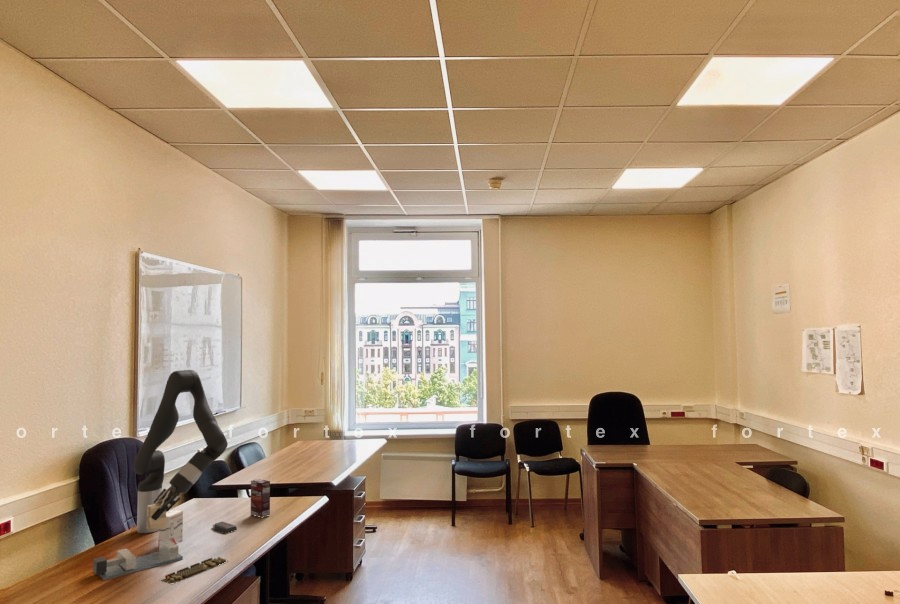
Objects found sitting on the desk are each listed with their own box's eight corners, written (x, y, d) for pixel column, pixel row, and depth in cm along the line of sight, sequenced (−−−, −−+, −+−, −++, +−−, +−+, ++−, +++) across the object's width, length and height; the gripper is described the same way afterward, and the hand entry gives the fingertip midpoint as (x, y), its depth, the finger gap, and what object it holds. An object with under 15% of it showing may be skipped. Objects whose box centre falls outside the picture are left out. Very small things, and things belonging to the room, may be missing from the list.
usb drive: (225, 534, 228) (225, 528, 228) (210, 529, 235) (210, 523, 236) (236, 531, 232) (236, 524, 232) (221, 526, 239) (222, 519, 240)
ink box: (168, 547, 213) (168, 516, 214) (157, 547, 214) (157, 516, 215) (183, 539, 222) (183, 510, 223) (172, 539, 223) (173, 509, 224)
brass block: (146, 528, 201) (147, 505, 201) (161, 524, 204) (161, 502, 205) (150, 531, 197) (151, 508, 198) (165, 527, 201) (166, 505, 201)
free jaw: (90, 568, 191) (91, 556, 191) (126, 559, 198) (126, 547, 199) (98, 577, 182) (98, 565, 183) (135, 568, 190) (135, 556, 190)
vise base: (95, 570, 192) (96, 555, 192) (171, 551, 209) (172, 537, 209) (103, 580, 183) (104, 565, 184) (182, 559, 200) (182, 545, 201)
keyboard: (172, 586, 178) (172, 580, 178) (156, 581, 183) (156, 575, 183) (230, 563, 197) (230, 557, 197) (214, 559, 202) (214, 553, 202)
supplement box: (249, 515, 253) (250, 480, 254) (258, 513, 256) (259, 478, 258) (261, 518, 248) (261, 482, 249) (270, 515, 252) (270, 480, 253)
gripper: (172, 469, 213) (137, 507, 203) (185, 474, 202) (148, 515, 193) (186, 480, 216) (152, 519, 206) (199, 486, 206) (164, 527, 196)
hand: (151, 517), depth 200 cm, fingers closed on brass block, 5 cm apart
